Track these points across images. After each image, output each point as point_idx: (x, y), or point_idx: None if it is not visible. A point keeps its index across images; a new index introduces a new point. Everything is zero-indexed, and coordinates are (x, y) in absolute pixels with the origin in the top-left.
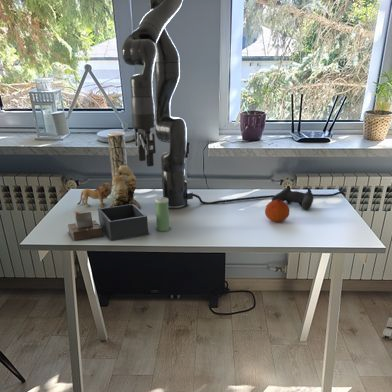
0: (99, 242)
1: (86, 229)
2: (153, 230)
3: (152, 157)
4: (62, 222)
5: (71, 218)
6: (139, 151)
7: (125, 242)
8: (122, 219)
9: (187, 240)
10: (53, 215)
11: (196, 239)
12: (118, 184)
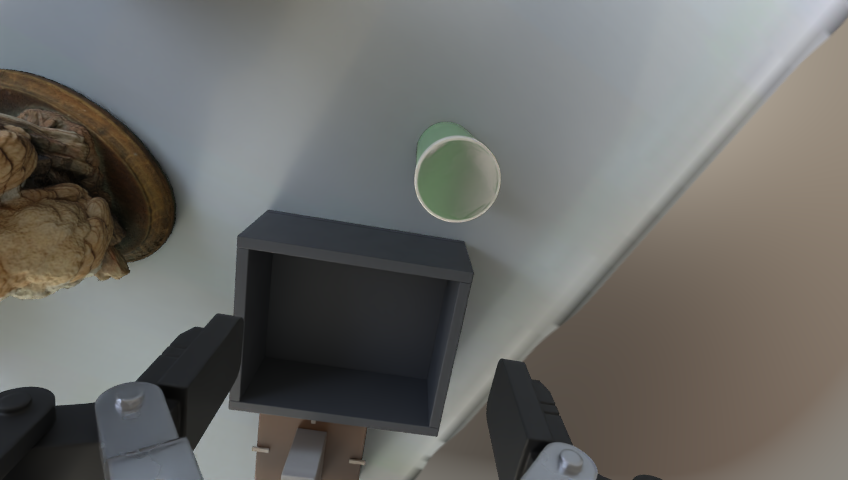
0: None
1: (351, 462)
2: None
3: (566, 438)
4: None
5: None
6: (195, 444)
7: (485, 351)
8: (442, 382)
9: (639, 134)
10: None
11: (659, 91)
12: (26, 279)
